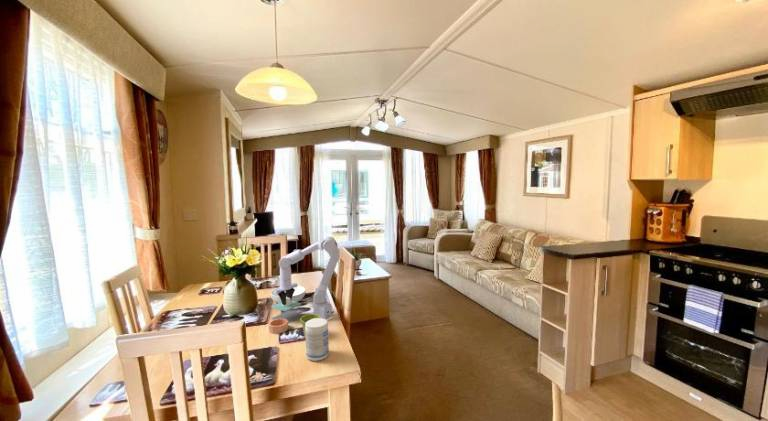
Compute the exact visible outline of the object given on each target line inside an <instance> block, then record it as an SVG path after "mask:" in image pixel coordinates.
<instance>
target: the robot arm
mask: <svg viewBox="0 0 768 421" xmlns="http://www.w3.org/2000/svg"><path fill="white" fill-rule="evenodd" d="M318 250H319V251H323V250H325V252H326V253H327V254H328V256H329V260H328V263H327V264H326V267H325V270H324V272H323V275H322V276H321V280H320V282H319V285H318V286H317V287H316V288H315V291H314V294H313V297H312V299H313V301H312V302H313V303H312V305H313V306H312V307H313V314H317V315H319V316H320V318H323V319H326V320H327V321H328V320H329V319H330V318H332V317H333V314H332V313H333V312H332V311H333V310H332V304H331V303H329V302H328V300H327V297H326V295H327V289H328V287H329V284H330V281H331V279H332V277H333V274H334V272H335V270H336V267H337V264H338V261H339V259H340V257H341V256H340V251H339V246H338V242H337V241H336V239H335V238H334V237H333V236H327V237H326V238H322V239H320V240H318V241H316V242H314V243H313V244H311V245H309V246H306V247H305V248H304V249H294V250H293V251H292V252H291V253H287V254H285V255H283V256H282V257H281V258H280V259H279V260H278V267H279V282H280V283H279V288H278V287H277V288H278V289H276V288H275V289H276V290H274V294H276V295H277V294H278V295H279V297H280V299H281V302H282V304H283V305H286V296H287V297H288V298H290V300H292V296H293V293H294V292H295V289H293V288H294V287H297V286H298V283H297V282H294V283H293V282H292V268H291V265H294V264H297V263H298V262H300V261H302V260H304V258H305V256H306V255H309V254H311V253H313V252H316V251H318ZM284 291H286V293H285V292H284Z"/></svg>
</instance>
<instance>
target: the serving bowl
mask: <svg viewBox="0 0 768 421" xmlns="http://www.w3.org/2000/svg"><path fill="white" fill-rule="evenodd" d="M279 287H280V286H279ZM279 287H276V288H273V289H272V290H271V291H270V293H269V294H270V297H271V300H272V301H274V302H275V303H276V304H278V303H280V302H281V299H280V297H279V295H278V294H277V295H276V294H274V290H276V289H278V288H279ZM293 289H295V292H294V293H293V296H292V300H291V301H294V302H298V303H299V301H301V300H302V299H303V298H304V297H305V295H306V292H307V291H306V290H307V289H306V288H305V287H304V286H301V285H297V287H294V288H293ZM284 292H285V293H286V291H284ZM286 297H287V296H286Z"/></svg>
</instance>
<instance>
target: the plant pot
mask: <svg viewBox="0 0 768 421" xmlns="http://www.w3.org/2000/svg"><path fill="white" fill-rule="evenodd" d="M304 315H305V316H303V317H301V318H299V319H300V322H301V324H302V330H303V336H304V337H305V338H306V336H305V324H306V322H307V321H309V320H311V319H315V318H320V316H319V315H317V314H314V313H310V314H309V313H308V314H304Z"/></svg>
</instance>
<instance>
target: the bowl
mask: <svg viewBox="0 0 768 421" xmlns="http://www.w3.org/2000/svg"><path fill="white" fill-rule="evenodd" d="M288 329H289V324H288V321H287V319H275V320H273V319H271V320H270V321H269V322H268V332H269V333H270V334H274V335H279V334H282V333H285V332H287V331H288Z"/></svg>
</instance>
